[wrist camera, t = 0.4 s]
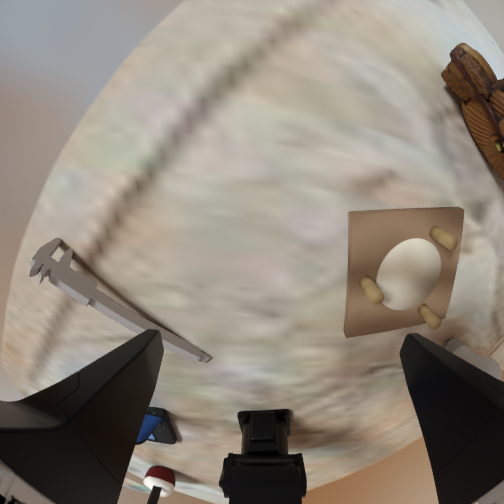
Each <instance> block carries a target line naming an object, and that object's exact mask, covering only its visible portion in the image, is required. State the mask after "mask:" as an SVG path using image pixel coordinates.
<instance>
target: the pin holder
mask: <svg viewBox="0 0 504 504" xmlns="http://www.w3.org/2000/svg"><path fill="white" fill-rule="evenodd" d="M463 218H464V209H462V208H459V207H439V208H410V209H387V210H368V211H351V212H349V246H348V278H347V297H346V311H345V323H344V334H345V336H346V338H348V337H355V336H361V335H367V334H373V333H379V332H385V331H390V330H395V329H400V328H405V327H410V326H415V325H419V324H424V323H427V324H428V325H429V327H430V328H431V329H432V330H436V329H437V328H438V327H439V326H440V325H441V320H440V319H444V318H445V316H446V313H447V309H448V305H449V301H450V297H451V293H452V288H453V284H454V279H455V274H456V269H457V263H458V257H459V251H460V244H461V237H462V228H463Z"/></svg>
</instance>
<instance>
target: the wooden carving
mask: <svg viewBox="0 0 504 504" xmlns="http://www.w3.org/2000/svg"><path fill="white" fill-rule="evenodd" d="M450 57H451V62H450V63H449V64H448V65H447V67H446V69H445V70H444V71H443V72H442V73H441V76H442V78H443V80H444V81H445V82H446V84H447V85H448V86H449V87H450V88H451V89H452V90H453V91H454V92H455V93H457V94H458V96H459V97H461V98H462V110H463V114H464V118H465V120H466V122H467V125H468V127H469V129H470V132H471V134H472V136H473V137H474V139H475V141H476V143H477V144H478V146H479V148H480V149H481V150H482V152H483V153H484V155H485V157H486V158H487V161H488V162H489V163H490V164H491V165H492V167H493V168H494V169H495V171H496V172H497V173H498V174H499V176H500V177H501V178H502V179H503V180H504V78H503V79H501V80H497V78H496V76H495V74H494V72H493V70H492V69H491V67H490V66H489V64H488V63H487V61H486V60H485V59H484V58H483V56H482V55H481V54H480V53H479V52H477V51H476V50H474V49H473V48H471V47H470V46H469V45H467V44H466V43H460V44H458V45H457V46H456V47H455V48H454V49H453V50H452V51H451V52H450Z"/></svg>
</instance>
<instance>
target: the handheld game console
mask: <svg viewBox="0 0 504 504" xmlns="http://www.w3.org/2000/svg"><path fill="white" fill-rule="evenodd" d="M166 413H167V412H166V410H165V409H162V408H156V407H148V410H147V413H146V415H145V418H144V421H143V424H142V427H141V430H140V433H139V435H138V438H137V441H136V444H135V445H139V444H142V443H144V442H145V441H146V440H148V441H153V442H159V443H165V444H175V443H176V440H177V439H176V436H175V433H174V431H173V428H172V425H171V423H170V421H169V418H168V416H167V414H166Z"/></svg>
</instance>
